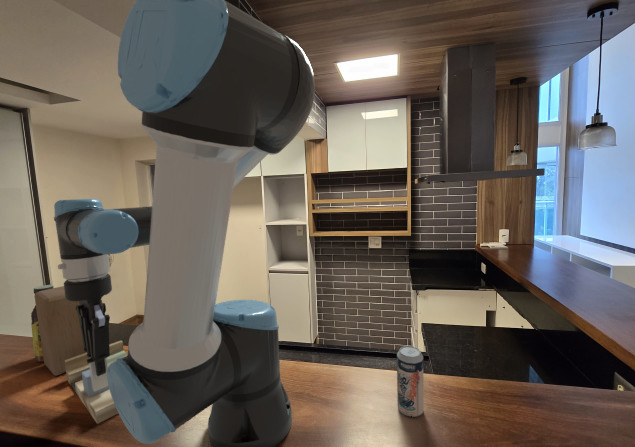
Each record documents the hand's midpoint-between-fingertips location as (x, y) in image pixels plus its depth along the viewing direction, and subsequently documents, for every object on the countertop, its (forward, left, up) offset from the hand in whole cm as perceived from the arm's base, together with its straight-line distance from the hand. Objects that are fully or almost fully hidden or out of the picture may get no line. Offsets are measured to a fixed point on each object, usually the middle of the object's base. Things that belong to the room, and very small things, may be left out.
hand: (101, 386), depth 64 cm
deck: (+6, -4, -4) cm, 8 cm away
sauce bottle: (+36, +2, -4) cm, 36 cm away
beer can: (-51, -37, -4) cm, 63 cm away
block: (+27, -1, -4) cm, 27 cm away
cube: (+3, 0, -2) cm, 3 cm away
